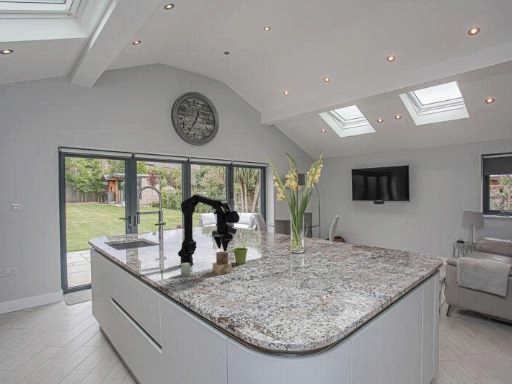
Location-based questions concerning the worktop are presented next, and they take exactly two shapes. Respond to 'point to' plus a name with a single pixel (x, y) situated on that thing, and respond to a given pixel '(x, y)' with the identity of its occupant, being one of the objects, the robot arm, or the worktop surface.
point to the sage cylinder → (185, 269)
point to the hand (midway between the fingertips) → (222, 250)
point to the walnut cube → (221, 258)
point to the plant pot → (240, 255)
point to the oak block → (222, 268)
